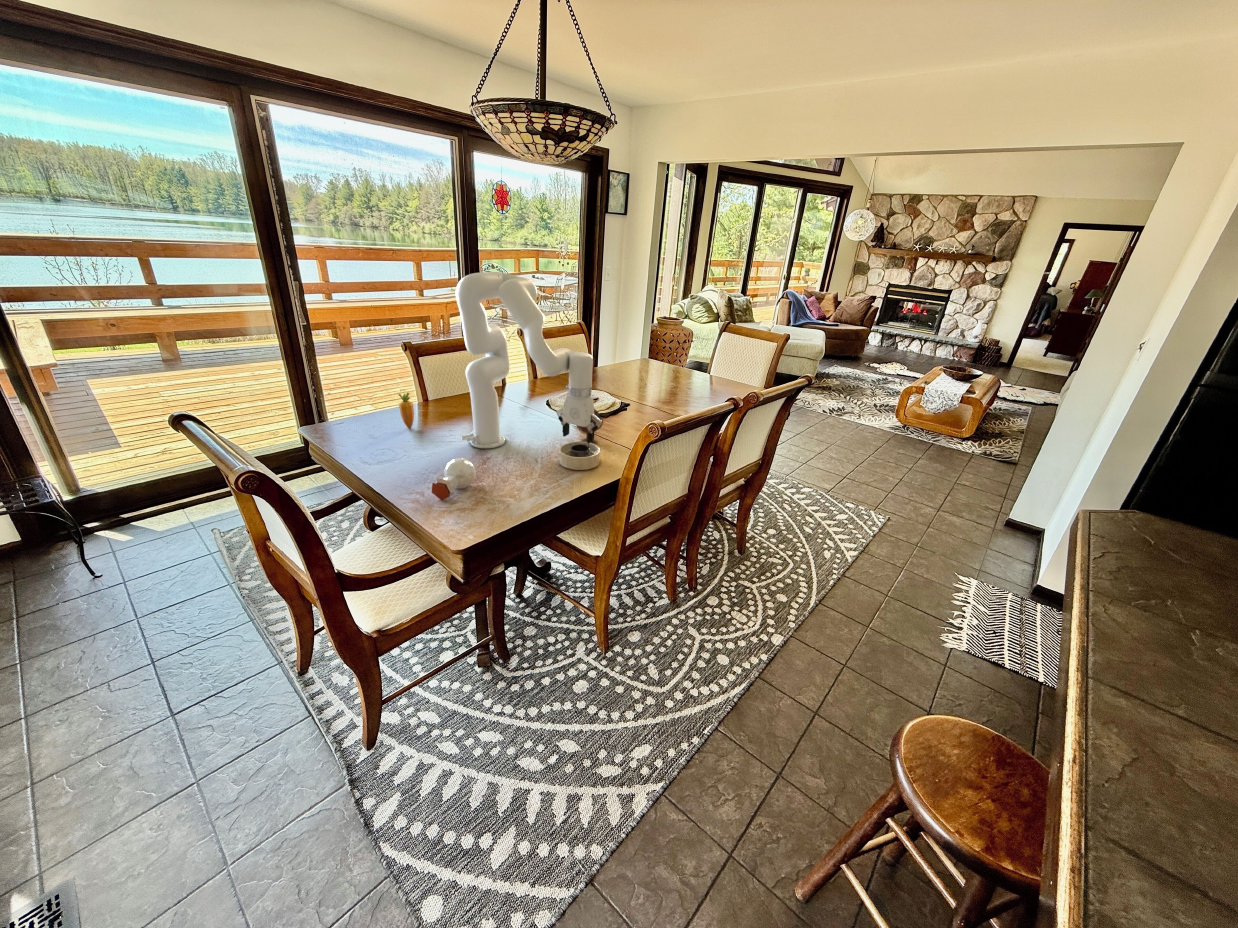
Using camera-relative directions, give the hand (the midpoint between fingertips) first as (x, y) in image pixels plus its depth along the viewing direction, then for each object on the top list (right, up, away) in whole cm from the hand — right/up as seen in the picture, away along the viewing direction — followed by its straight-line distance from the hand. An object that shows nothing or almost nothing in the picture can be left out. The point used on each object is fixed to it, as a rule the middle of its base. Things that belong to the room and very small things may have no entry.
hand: (577, 438), depth 166 cm
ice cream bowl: (+2, 0, +20) cm, 21 cm away
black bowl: (0, -8, +3) cm, 8 cm away
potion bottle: (-36, -17, -19) cm, 44 cm away
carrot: (-69, +5, +24) cm, 73 cm away
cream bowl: (0, -8, +4) cm, 9 cm away
